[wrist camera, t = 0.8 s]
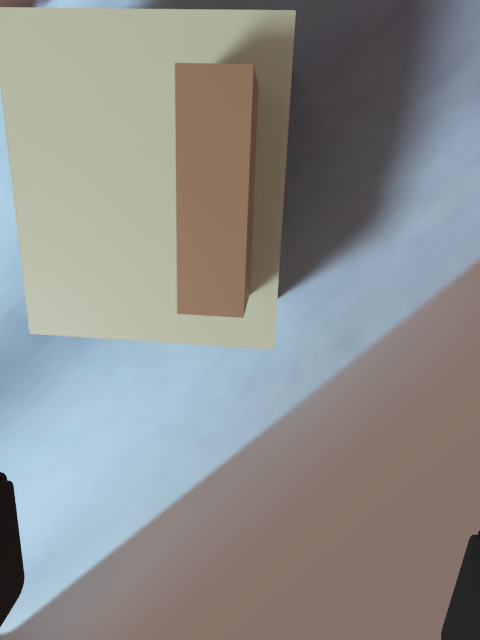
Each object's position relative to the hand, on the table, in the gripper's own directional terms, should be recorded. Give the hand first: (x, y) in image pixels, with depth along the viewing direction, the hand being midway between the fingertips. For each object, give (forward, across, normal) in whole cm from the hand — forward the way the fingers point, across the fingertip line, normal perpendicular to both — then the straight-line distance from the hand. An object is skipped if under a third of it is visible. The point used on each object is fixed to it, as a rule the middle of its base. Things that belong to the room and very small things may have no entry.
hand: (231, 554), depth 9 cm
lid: (+17, +6, -6) cm, 19 cm away
